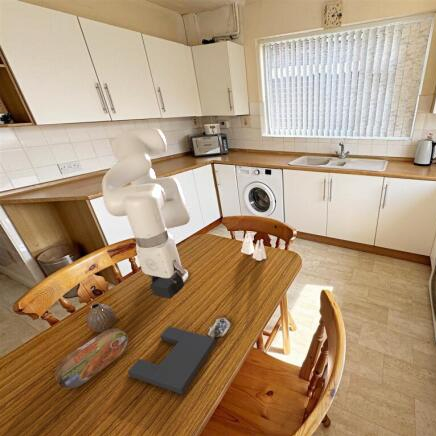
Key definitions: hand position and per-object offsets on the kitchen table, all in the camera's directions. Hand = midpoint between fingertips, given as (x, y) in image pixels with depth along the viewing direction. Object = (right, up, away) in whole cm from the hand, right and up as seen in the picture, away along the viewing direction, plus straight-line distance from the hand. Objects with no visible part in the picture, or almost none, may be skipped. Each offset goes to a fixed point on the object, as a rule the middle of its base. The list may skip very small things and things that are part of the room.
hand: (169, 288), depth 72 cm
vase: (-21, -13, +3) cm, 25 cm away
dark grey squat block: (0, -1, 0) cm, 1 cm away
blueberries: (+15, -12, +1) cm, 20 cm away
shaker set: (+20, +4, +36) cm, 41 cm away
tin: (-13, -18, -9) cm, 24 cm away
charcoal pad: (+6, -17, -8) cm, 19 cm away
